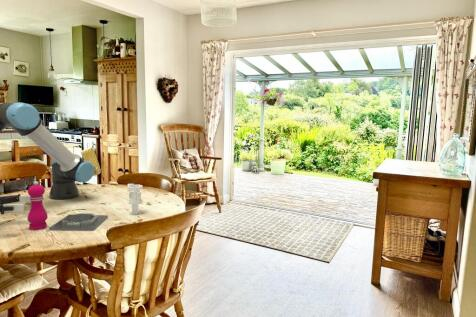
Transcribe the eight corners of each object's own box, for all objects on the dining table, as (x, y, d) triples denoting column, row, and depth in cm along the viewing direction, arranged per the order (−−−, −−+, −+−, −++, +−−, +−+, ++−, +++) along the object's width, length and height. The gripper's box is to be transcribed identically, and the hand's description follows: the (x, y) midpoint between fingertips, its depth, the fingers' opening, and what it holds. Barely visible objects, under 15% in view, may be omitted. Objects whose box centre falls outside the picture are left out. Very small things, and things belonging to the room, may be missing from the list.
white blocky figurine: (128, 211, 165) (128, 182, 163) (142, 211, 166) (142, 182, 164) (127, 215, 158) (126, 185, 156) (142, 215, 160) (142, 185, 158)
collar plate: (68, 216, 153) (68, 211, 153) (107, 217, 154) (107, 212, 154) (49, 230, 136) (48, 224, 135) (93, 230, 137) (93, 225, 136)
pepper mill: (33, 224, 141) (31, 179, 139) (51, 224, 142) (49, 179, 139) (24, 230, 134) (21, 182, 132) (42, 230, 135) (40, 183, 132)
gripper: (-12, 204, 144) (41, 203, 148) (-48, 223, 119) (18, 221, 124) (-13, 188, 143) (40, 187, 147) (-49, 203, 118) (16, 202, 123)
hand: (30, 203), depth 136 cm, fingers open, 13 cm apart
